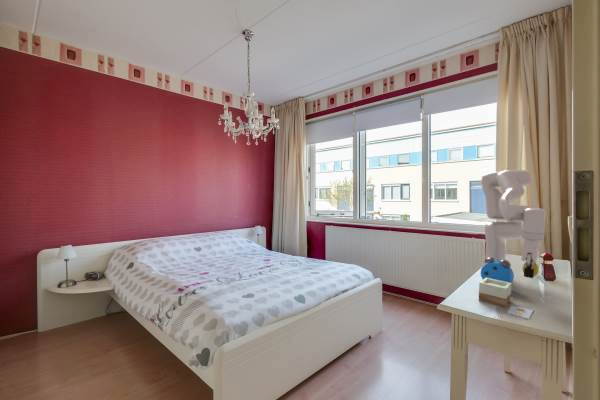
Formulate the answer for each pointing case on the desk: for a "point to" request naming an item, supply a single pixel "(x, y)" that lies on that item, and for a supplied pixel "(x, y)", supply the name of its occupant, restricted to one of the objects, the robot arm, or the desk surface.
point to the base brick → (494, 300)
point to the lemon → (533, 268)
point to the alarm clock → (497, 270)
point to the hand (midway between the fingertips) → (529, 275)
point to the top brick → (495, 287)
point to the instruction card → (520, 312)
